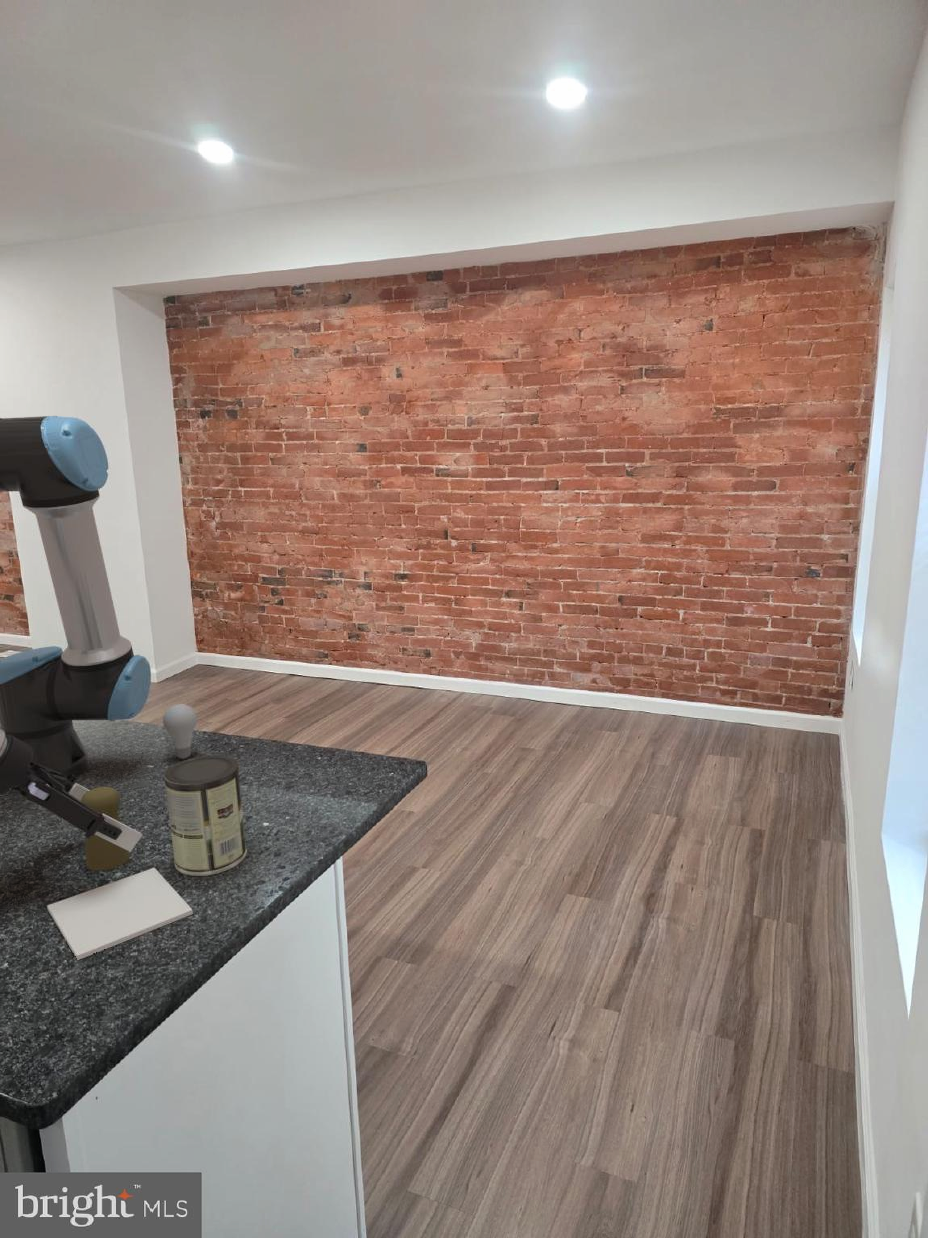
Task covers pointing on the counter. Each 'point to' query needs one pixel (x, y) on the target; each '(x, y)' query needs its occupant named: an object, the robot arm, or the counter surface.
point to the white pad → (117, 912)
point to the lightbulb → (180, 727)
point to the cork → (97, 848)
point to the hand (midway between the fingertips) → (120, 825)
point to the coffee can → (205, 814)
